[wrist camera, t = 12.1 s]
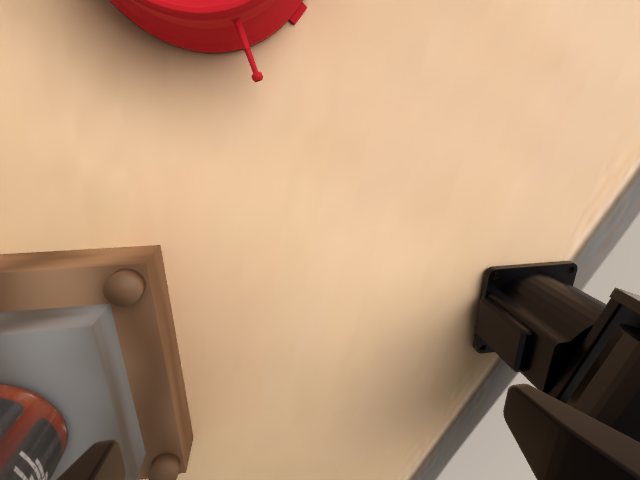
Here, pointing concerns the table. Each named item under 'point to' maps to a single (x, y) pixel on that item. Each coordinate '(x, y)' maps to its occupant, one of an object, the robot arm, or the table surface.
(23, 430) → the supplement bottle
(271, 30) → the alarm clock
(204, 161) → the table surface
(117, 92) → the table surface
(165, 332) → the tower base
